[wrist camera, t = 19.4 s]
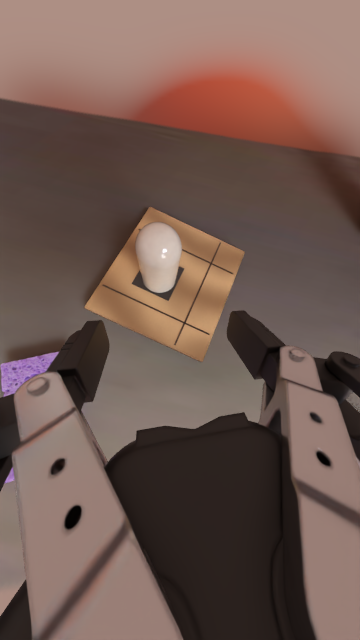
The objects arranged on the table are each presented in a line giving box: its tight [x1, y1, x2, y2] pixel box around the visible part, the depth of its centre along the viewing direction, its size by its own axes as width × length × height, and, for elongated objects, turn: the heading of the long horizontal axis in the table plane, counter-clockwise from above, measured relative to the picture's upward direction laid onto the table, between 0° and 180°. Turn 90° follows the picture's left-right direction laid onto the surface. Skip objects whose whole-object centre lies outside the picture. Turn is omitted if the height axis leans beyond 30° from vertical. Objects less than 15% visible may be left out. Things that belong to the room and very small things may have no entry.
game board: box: [84, 207, 245, 362], centre depth 25 cm, size 20×18×2 cm
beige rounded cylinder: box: [135, 222, 182, 293], centre depth 19 cm, size 5×5×9 cm
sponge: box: [1, 352, 59, 483], centre depth 19 cm, size 7×13×2 cm, turn 13°
